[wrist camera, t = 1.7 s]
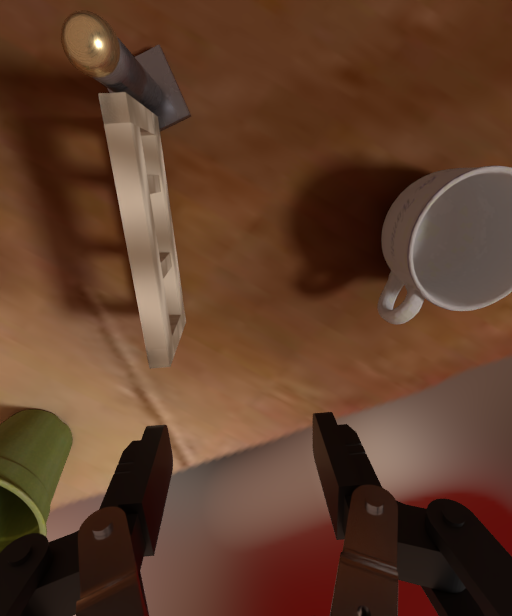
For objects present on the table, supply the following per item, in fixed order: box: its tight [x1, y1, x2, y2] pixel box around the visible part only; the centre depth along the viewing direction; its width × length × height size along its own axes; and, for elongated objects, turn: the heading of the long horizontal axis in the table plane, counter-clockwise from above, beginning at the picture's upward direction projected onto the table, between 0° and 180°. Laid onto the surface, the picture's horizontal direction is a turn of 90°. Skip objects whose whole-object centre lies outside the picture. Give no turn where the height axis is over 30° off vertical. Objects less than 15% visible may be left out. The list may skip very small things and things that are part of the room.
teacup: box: [378, 166, 512, 324], centre depth 30 cm, size 14×11×8 cm
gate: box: [98, 92, 186, 368], centre depth 26 cm, size 17×2×8 cm, turn 3°
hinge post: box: [61, 11, 191, 131], centre depth 22 cm, size 5×5×13 cm
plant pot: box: [0, 409, 72, 552], centre depth 34 cm, size 12×12×11 cm
